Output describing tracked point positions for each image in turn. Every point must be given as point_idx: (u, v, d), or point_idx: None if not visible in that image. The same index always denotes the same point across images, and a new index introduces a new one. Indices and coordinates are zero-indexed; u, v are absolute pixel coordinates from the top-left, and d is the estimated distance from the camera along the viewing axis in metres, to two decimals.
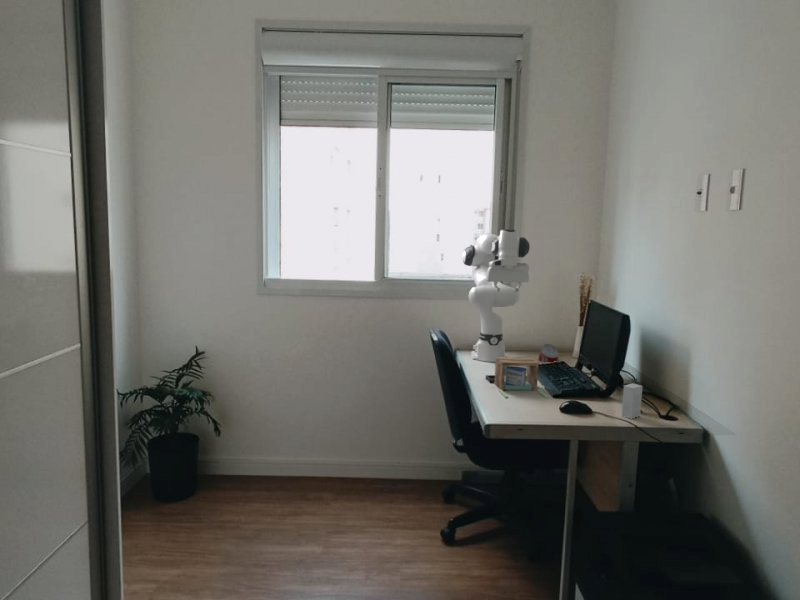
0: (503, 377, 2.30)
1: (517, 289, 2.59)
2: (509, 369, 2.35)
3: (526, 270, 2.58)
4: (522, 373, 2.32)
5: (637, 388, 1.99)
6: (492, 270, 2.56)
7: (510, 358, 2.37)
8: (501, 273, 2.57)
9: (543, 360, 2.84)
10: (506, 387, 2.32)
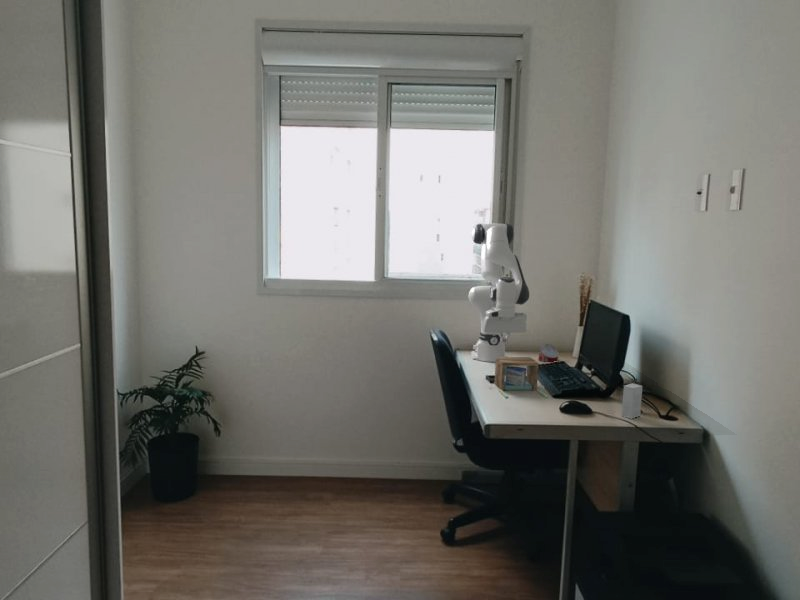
0: (503, 377, 2.30)
1: (506, 339, 2.53)
2: (509, 369, 2.35)
3: (524, 320, 2.52)
4: (522, 373, 2.32)
5: (637, 388, 1.99)
6: (489, 321, 2.49)
7: (510, 358, 2.37)
8: (498, 324, 2.51)
9: (543, 360, 2.84)
10: (506, 387, 2.32)
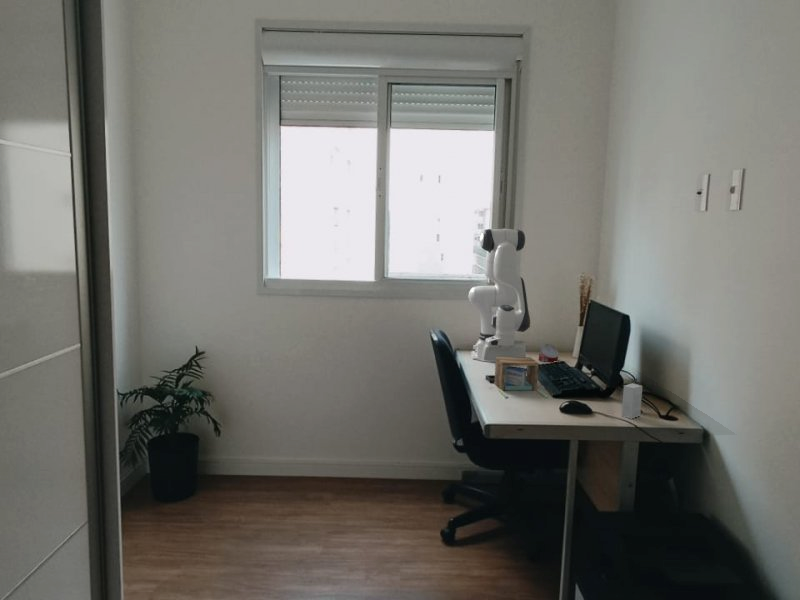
0: (503, 377, 2.30)
1: None
2: (509, 369, 2.34)
3: (523, 348, 2.52)
4: (522, 373, 2.32)
5: (637, 388, 1.99)
6: (488, 349, 2.49)
7: (510, 358, 2.37)
8: (497, 352, 2.51)
9: (543, 360, 2.84)
10: (506, 387, 2.31)
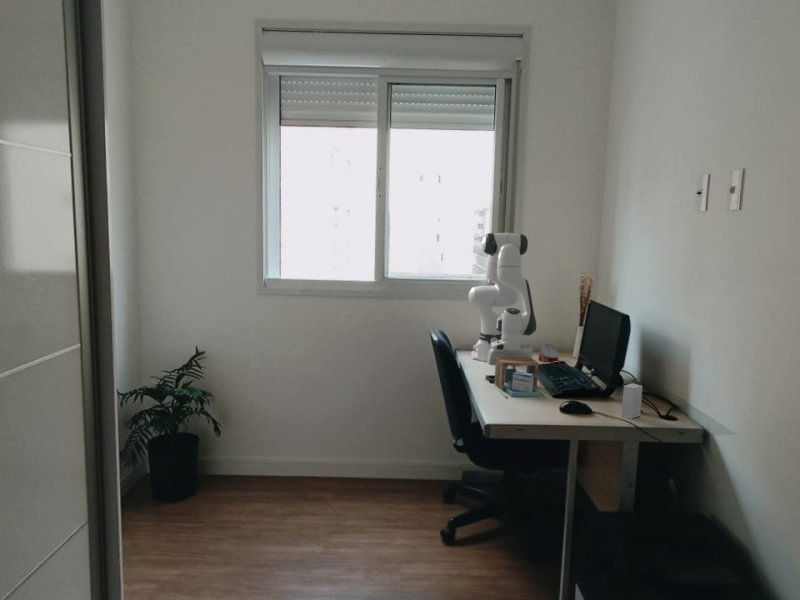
0: (503, 377, 2.30)
1: None
2: (516, 374, 2.26)
3: (530, 353, 2.43)
4: (529, 379, 2.23)
5: (637, 388, 1.99)
6: (494, 354, 2.41)
7: (510, 358, 2.37)
8: (503, 356, 2.42)
9: (543, 360, 2.84)
10: (513, 394, 2.23)
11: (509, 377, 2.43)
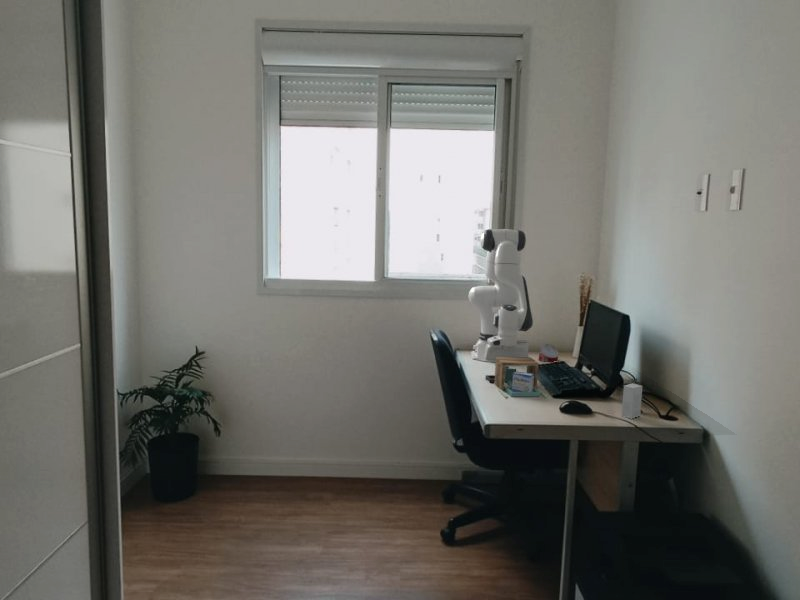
0: (503, 377, 2.30)
1: (507, 367, 2.49)
2: (516, 374, 2.26)
3: (526, 349, 2.48)
4: (529, 379, 2.23)
5: (637, 388, 1.99)
6: (490, 349, 2.46)
7: (510, 358, 2.37)
8: (500, 352, 2.47)
9: (543, 360, 2.84)
10: (513, 394, 2.23)
11: (509, 377, 2.43)
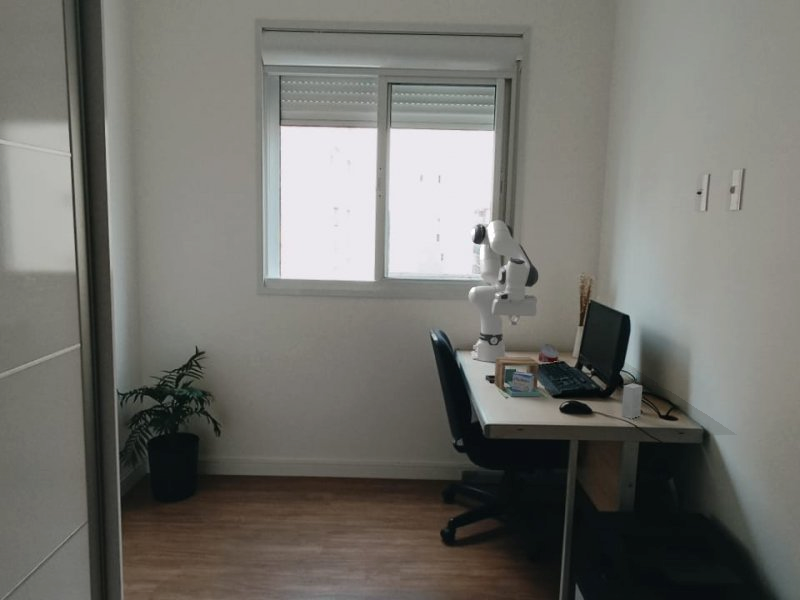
0: (503, 377, 2.30)
1: (515, 323, 2.47)
2: (516, 374, 2.26)
3: (534, 303, 2.46)
4: (529, 379, 2.23)
5: (637, 388, 1.99)
6: (498, 304, 2.44)
7: (510, 358, 2.37)
8: (507, 307, 2.45)
9: (543, 360, 2.84)
10: (513, 394, 2.23)
11: (509, 377, 2.43)
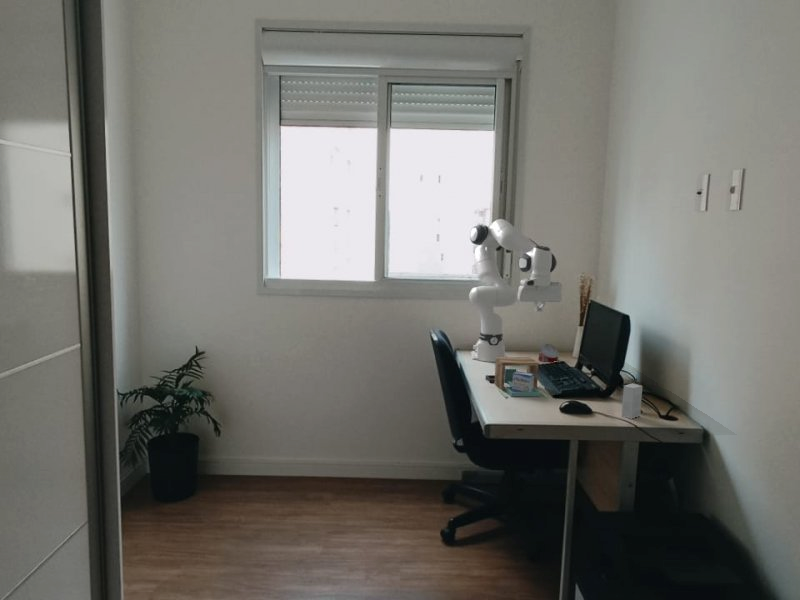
0: (503, 377, 2.30)
1: (541, 309, 2.50)
2: (516, 374, 2.26)
3: (559, 290, 2.49)
4: (529, 379, 2.23)
5: (637, 388, 1.99)
6: (524, 290, 2.46)
7: (510, 358, 2.37)
8: (533, 293, 2.48)
9: (543, 360, 2.84)
10: (513, 394, 2.23)
11: (509, 377, 2.43)
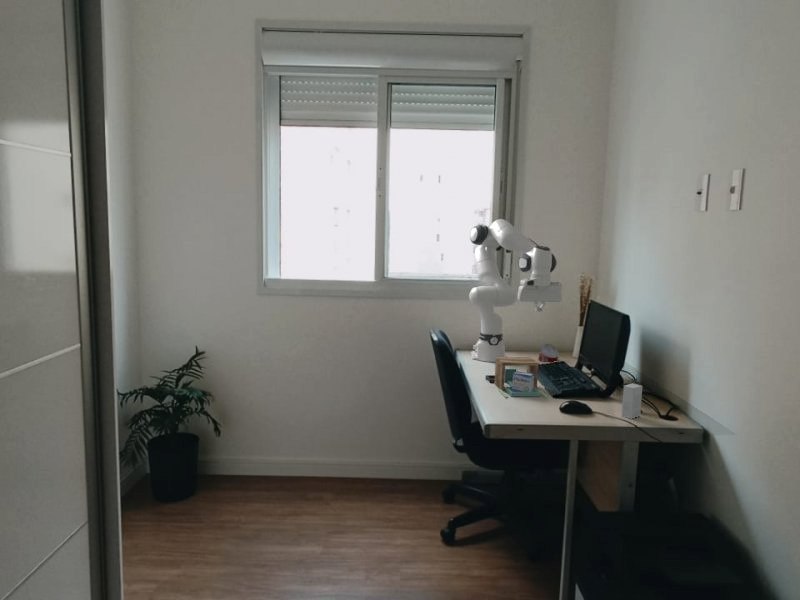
0: (503, 377, 2.30)
1: (541, 309, 2.50)
2: (516, 374, 2.26)
3: (559, 290, 2.49)
4: (529, 379, 2.23)
5: (637, 388, 1.99)
6: (524, 290, 2.46)
7: (510, 358, 2.37)
8: (533, 293, 2.48)
9: (543, 360, 2.84)
10: (513, 394, 2.23)
11: (509, 377, 2.43)
